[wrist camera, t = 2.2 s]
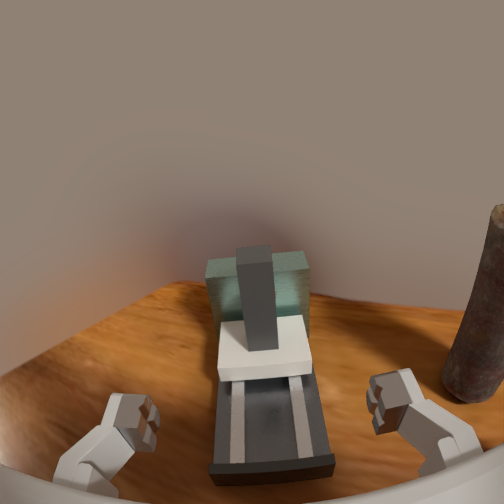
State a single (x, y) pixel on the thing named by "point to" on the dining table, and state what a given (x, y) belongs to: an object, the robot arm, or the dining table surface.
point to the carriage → (261, 327)
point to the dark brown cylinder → (481, 326)
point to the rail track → (267, 393)
